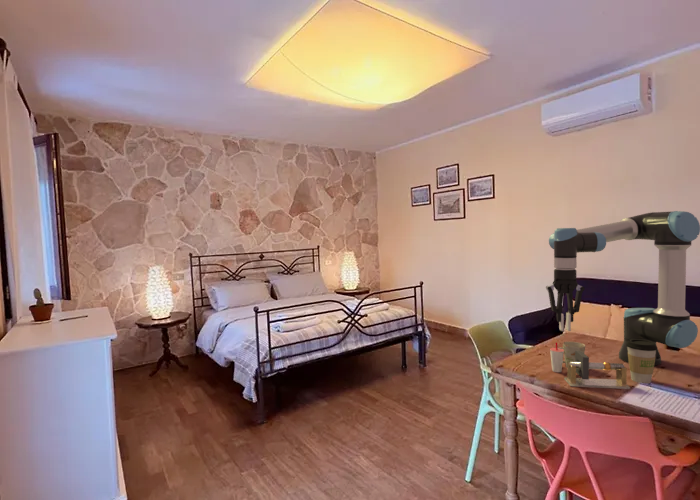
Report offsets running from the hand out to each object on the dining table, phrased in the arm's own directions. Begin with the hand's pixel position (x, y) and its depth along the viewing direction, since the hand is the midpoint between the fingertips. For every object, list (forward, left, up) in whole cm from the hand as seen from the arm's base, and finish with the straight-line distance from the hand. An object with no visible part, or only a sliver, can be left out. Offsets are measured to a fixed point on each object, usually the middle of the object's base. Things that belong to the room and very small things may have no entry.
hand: (564, 330), depth 154 cm
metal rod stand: (-11, 0, -20) cm, 23 cm away
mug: (-7, -18, -21) cm, 28 cm away
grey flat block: (-6, 0, -17) cm, 18 cm away
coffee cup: (-29, -6, -21) cm, 36 cm away
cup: (-1, -13, -21) cm, 24 cm away
